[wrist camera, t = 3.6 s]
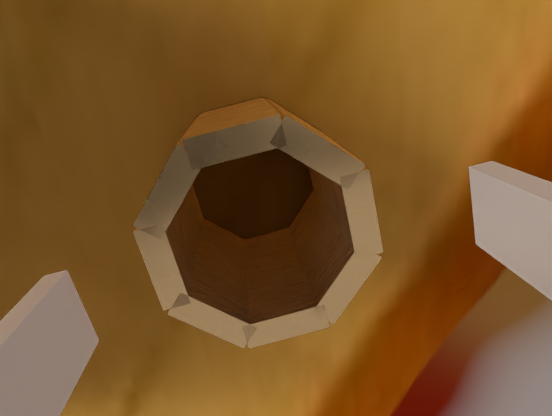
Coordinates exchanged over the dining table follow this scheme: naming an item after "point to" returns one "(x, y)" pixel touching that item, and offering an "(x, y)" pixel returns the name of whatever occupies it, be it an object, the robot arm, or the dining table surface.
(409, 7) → the dining table surface
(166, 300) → the ring
